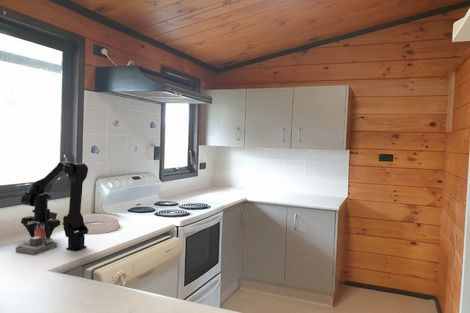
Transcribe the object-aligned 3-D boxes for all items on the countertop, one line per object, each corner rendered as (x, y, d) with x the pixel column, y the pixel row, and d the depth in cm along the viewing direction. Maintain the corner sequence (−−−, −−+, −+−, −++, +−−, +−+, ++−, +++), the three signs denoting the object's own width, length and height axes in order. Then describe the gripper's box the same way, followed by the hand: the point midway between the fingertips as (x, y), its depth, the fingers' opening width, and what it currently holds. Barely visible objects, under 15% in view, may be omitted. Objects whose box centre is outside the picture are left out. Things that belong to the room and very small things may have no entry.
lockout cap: (47, 240, 178) (48, 228, 177) (40, 243, 173) (40, 230, 173) (40, 239, 179) (40, 227, 179) (32, 242, 175) (33, 229, 174)
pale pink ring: (59, 233, 192) (59, 223, 192) (79, 221, 219) (79, 213, 219) (110, 235, 193) (110, 225, 193) (124, 223, 220) (124, 214, 220)
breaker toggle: (41, 246, 162) (41, 236, 162) (35, 248, 158) (35, 238, 158) (36, 245, 163) (36, 235, 162) (29, 247, 159) (29, 237, 159)
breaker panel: (56, 246, 169) (57, 239, 169) (33, 254, 156) (33, 246, 156) (39, 243, 172) (39, 236, 172) (15, 251, 159) (15, 244, 159)
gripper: (68, 206, 180) (68, 237, 181) (39, 203, 186) (38, 233, 186) (51, 210, 170) (50, 243, 170) (20, 206, 175) (20, 238, 176)
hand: (40, 239), depth 176 cm, fingers open, 9 cm apart
